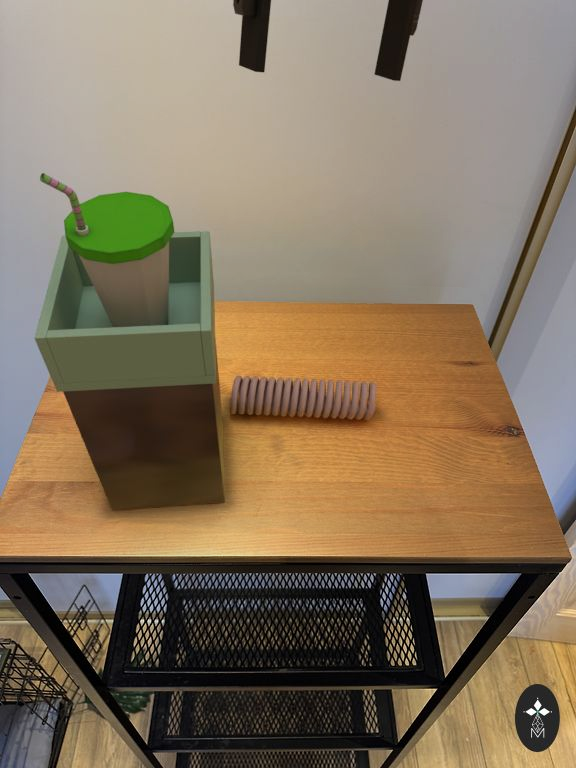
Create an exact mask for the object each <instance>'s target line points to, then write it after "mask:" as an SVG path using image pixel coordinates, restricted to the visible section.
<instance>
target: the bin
mask: <svg viewBox="0 0 576 768" xmlns="http://www.w3.org/2000/svg"><path fill="white" fill-rule="evenodd" d="M210 234H211V233H210V231H209V230H204V231H199V230H195V231H174V233H173V235H172V236H171V238H170V240H169V313H168V325H157V326H134V327H113V326H112V324H111V321H110V319H109V317H108V315H107V313H106V311H105V309H104V307H103V305H102V303H101V301H100V298H99V296H98V294H97V292H96V290H95V288H94V286H93V284H92V282H91V280H90V277H89V275H88V273H87V271H86V269H85V267H84V265H83V263H82V261H81V259H80V257H79V254H77V253H76V252H75V251H73V250H72V249H71V248H69V246H68V243H67V240H66V236H65V234H64V235H61V237H60V240H59V241H60V242H59V245H58V249H57V253H56V256H55V261H54V263H53V268H52V272H51V274H50V279H49V282H48V286H47V289H46V294H45V297H44V301H43V305H42V308H41V312H40V315H39V319H38V323H37V327H36V331H35V335H34V341H35V343H36V346H37V348H38V351H39V352H40V356H41V357H42V360H43V362H44V364H45V366H46V369H47V372H48V374H49V376H50V379H51V381H52V383H53V385H54V388H55V391H56V392H57V393H58V392H59V393H60V392H62V393H63V391H82V390H100V389H119V388H138V387H156V386H175V385H194V384H212V383H216V351H217V350H216V351H215V339H216V313H215V282H214V279H215V278H214V269H213V267H214V266H213V258H212V246H211V235H210Z"/></svg>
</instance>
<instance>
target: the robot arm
mask: <svg viewBox="0 0 576 768" xmlns="http://www.w3.org/2000/svg"><path fill="white" fill-rule="evenodd" d="M232 1H233V3H232V6H233V10H234V14H235V15H239V16H241V31H240V41H239V42H240V43H239V46H240V47H239V57H238V58H239V60H238V66H240V67H242V68H245V69H247V70H250V71H253V72H255V73H265V70H266V60H267V50H268V39H269V29H270V17H271V7H272V0H232ZM423 2H424V0H388V2H387V7H386V12H385V17H384V23H383V28H382V33H381V38H380V44H379V48H378V54H377V59H376V64H375V69H374V73H373V74H374V76H377V77H381V78H384V79H387V80H391V81H395V82H401V80H402V74H403V69H404V66H405V61H406V56H407V53H408V48H409V43H410V38H411V36H414V35H415V34H416V31H417V29H418V23H419V20H420V15H421V10H422V6H423Z"/></svg>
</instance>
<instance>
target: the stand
mask: <svg viewBox="0 0 576 768" xmlns="http://www.w3.org/2000/svg"><path fill="white" fill-rule="evenodd" d="M216 342H217V339H216V338H215V351H216V383H212V384H194V385H175V386H156V387H138V388H119V389H100V390H82V391H63V392H62V393H63V395H64V397H65V400H66V402H67V404H68V407H69V410H70V412H71V414H72V418H73V420H74V422H75V425H76V427H77V429H78V432H79V434H80V437H81V440H82V441H83V444H84V446H85V449H86V451H87V453H88V457H89V458H90V461H91V463H92V465H93V468H94V471H95V473H96V475H97V478H98V481H99V483H100V485H101V488H102V490H103V493H104V495H105V498H106V501H107V502H108V504H109V507H110V509H111V511H124V510H125V511H126V510H137V509H139V510H140V509H150V508H154V509H155V508H165V507H166V508H167V507H168V508H169V507H182V506H194V505H195V506H196V505H210V504H221V503H223V504H224V503H226V498H225V497H226V491H225V490H226V489H225V461H224V459H225V458H224V427H223V425H224V423H223V408H222V407H223V406H222V398H221V397H222V395H221V385H220V384H221V383H220V374H219V365H218V364H219V363H218V362H219V361H218V352H217V351H218V350H217V343H216Z"/></svg>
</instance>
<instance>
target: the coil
mask: <svg viewBox="0 0 576 768" xmlns="http://www.w3.org/2000/svg"><path fill="white" fill-rule="evenodd" d="M343 384H344V385H343ZM359 396H360V397H359ZM359 398H360V401H359ZM229 399H230V400H229V402H230V403H229V405H230V406H229V412H230V414H231V415H235V414H236V413H237V411H238V414H240V415H244V414H245V413H246V414H248V415H249V416H251V415H253V413H255V415H257V416H260V415H261V414H262V413H263V415H264V416H270V414H272V416H274V417H276V416H278V415H279V414H280V416H281V417H286V416H287V415H288V416H289V417H291V418H292V417H295V415H296V416H297V417H299V418H303V416H304V415H305V417H306V418H311V417H312V416H313V417H314V418H317V419H318V418H320V417H322V418H323V419H327V418H329V417H330V418H331V419H336V418H339V419H340V420H344V419H346V418H347V419H348V420H353V419H354V418H355V419H356V420H362V419H364V420H365V421H370V420H371V419H372V417H373V415H374V414H376V413H377V410H376V409H377V408H376V402H377V383H376V382H375V381H370V382H369V383H368V382H367V381H365V380H363V381H362V382H361V383H360V382H359V381H358V380H354V381H352V383H351V381H350V380H344V383H343V381H342V380H340V379H338V380H336V381H334V380H333V379H328V381H327V382H326V379H324V378H323V379H322V378H321V379H319V381H318V380H317V379H315V378H313V379H311V380H309V379H308V378H303V379H302V381H301V378H299V377H296V378H295V379H294V380H293V379H292V378H291V377H287V378H286V379H285V378H284V377H280V376H279V377H278V378H277V379H276V378H275V377H274V376H271V377H269V378H267V377H266V376H261V378H259V376H256V375H255V376H253V377H250V376H249V375H245V376H244V377H243V376H241V375H239V374H238V375H236V376H235V377H234V379H233V382H232V386H231V394H230V398H229ZM237 407H238V409H237Z"/></svg>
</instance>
